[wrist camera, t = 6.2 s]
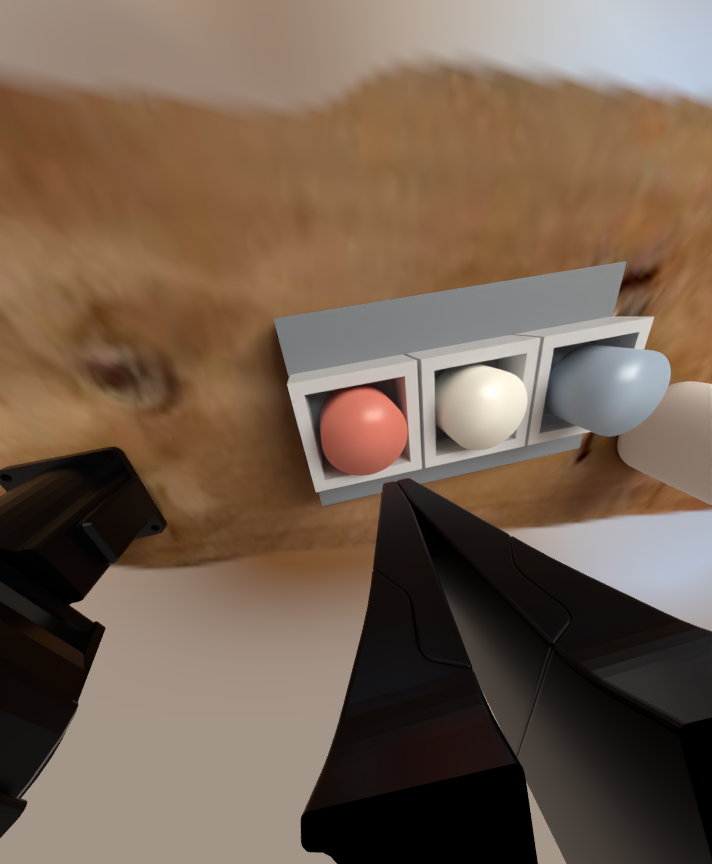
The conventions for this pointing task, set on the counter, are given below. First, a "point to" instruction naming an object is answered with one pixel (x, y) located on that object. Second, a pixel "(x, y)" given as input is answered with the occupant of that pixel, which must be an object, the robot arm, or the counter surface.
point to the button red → (361, 430)
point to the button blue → (607, 387)
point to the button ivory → (479, 405)
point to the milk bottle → (675, 440)
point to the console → (450, 365)
